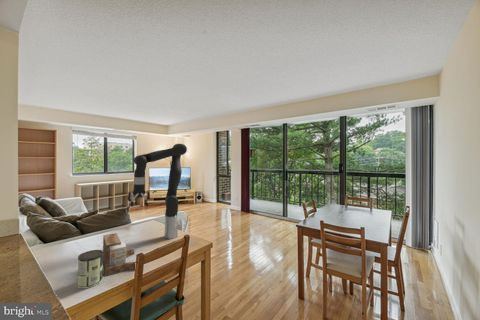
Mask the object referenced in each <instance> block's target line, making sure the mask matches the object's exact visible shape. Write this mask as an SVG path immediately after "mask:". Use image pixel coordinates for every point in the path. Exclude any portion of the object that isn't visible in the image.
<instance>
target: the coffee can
mask: <svg viewBox="0 0 480 320" xmlns="http://www.w3.org/2000/svg"><path fill="white" fill-rule="evenodd" d="M77 259H78V260H77V287H78V288H79V289H89V288H92V287H96V286H97V285H99V284H101V282H102V281H103V271H104V267H103V249H102V250H101V249H93V250H88V251H85V252H82V253H80V254H78V256H77Z"/></svg>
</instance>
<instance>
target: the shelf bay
mask: <svg viewBox="0 0 480 320" xmlns="http://www.w3.org/2000/svg"><path fill="white" fill-rule="evenodd" d="M102 238H103V239H102V240H103V241H102V251H103V271H104V274H105V276H109V275H113V274H118V273H121V272H125V271H129V270H136V269H135V263H136V262H137V261H129V262H128V261H127V262H126V263H123V264H119V265H115V266H111V267H109V247H111V246H116V245H121V239H120V237H119V236H118V233H117V232H115V233H110V234H109V233H108V234H104V235H103V237H102ZM135 251H136V250H135V248H134V247H132V248H130V249H126V259H127V258H129V257H131V256H133V255H135Z"/></svg>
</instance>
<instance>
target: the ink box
mask: <svg viewBox="0 0 480 320" xmlns="http://www.w3.org/2000/svg"><path fill="white" fill-rule="evenodd" d="M126 251H127V245H126V244H125V242H124V241H122V242H121V245H116V246H111V247H109V267H111V266H115V265H119V264H123V263H127V258H126Z"/></svg>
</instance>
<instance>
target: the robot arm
mask: <svg viewBox="0 0 480 320" xmlns="http://www.w3.org/2000/svg"><path fill="white" fill-rule="evenodd" d="M187 152H188V148H187V146H186V145H185V144H184V143H175V144H173V146H172V147H170V148H166V149H160V150H156V151H155V150H154V151H151V152H148V153H144V154H138V155H136V156H135V157H134V158H133V163H134V164H135V169H134V172H133V173H134V174H133V188H132V189H133V190H132V191H128V193H127V202H128V201H129V202H130V204H129V205H130V206H131V208H134V200H135V199H138V198H143V199H144V201H143V202H144V203H143V205H144V206H145V207H146V206H147V203H148V200H150V199H151V196H150V194H151V192H150V190H146V169H147V163H153V162H157V161H161V160H163V159H164V160H165V159H166V158H170V157H171V163H170V169H169V175H168V188H167V192H166V196H165V199H164V202H165V213H164V214H165V215H164V239H167V240H171V239H176V238H177V237H178V231H179V229H178V228H179V225H178V213H179V199H178V197H177V196H178V195H177V193H178V187H179V185H180V182H181V178H182V171H183V170H182V166H181V158H182V157H181V156H182V155H185V154H186V153H187ZM132 195H133V196H132ZM145 195H146V196H145ZM131 196H132V197H131Z"/></svg>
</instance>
